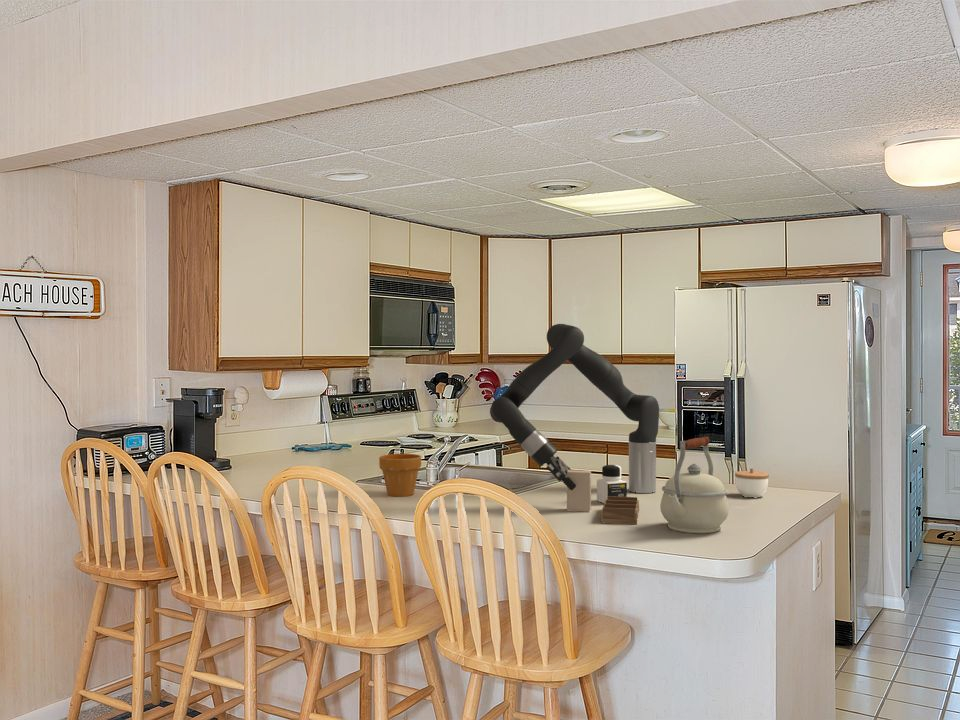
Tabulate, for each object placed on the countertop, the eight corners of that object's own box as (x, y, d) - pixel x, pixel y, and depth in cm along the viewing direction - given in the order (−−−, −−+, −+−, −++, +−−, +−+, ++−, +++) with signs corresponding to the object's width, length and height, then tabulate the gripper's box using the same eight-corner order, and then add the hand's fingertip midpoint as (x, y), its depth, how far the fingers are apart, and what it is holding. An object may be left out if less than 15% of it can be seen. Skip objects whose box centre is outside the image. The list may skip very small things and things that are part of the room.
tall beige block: (568, 508, 265) (568, 470, 265) (591, 509, 263) (591, 470, 263) (566, 511, 261) (566, 472, 261) (589, 512, 259) (589, 472, 259)
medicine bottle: (607, 505, 270) (607, 467, 270) (596, 501, 277) (596, 464, 277) (627, 503, 273) (627, 466, 273) (615, 499, 280) (615, 463, 279)
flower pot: (374, 497, 284) (373, 458, 284) (386, 490, 298) (386, 453, 298) (415, 498, 282) (415, 459, 282) (425, 491, 296) (425, 454, 296)
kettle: (681, 517, 251) (681, 433, 251) (741, 526, 239) (742, 437, 239) (639, 532, 232) (639, 440, 231) (703, 542, 220) (703, 445, 220)
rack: (605, 509, 263) (606, 495, 263) (638, 510, 261) (639, 497, 261) (601, 522, 244) (601, 508, 244) (636, 524, 242) (636, 509, 242)
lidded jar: (735, 498, 282) (735, 470, 282) (734, 493, 292) (734, 465, 292) (769, 499, 279) (770, 471, 279) (767, 494, 290) (767, 466, 290)
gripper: (543, 442, 257) (582, 481, 255) (550, 437, 271) (586, 474, 269) (526, 459, 258) (564, 498, 256) (533, 453, 272) (569, 490, 270)
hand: (575, 486), depth 262 cm, fingers open, 8 cm apart
